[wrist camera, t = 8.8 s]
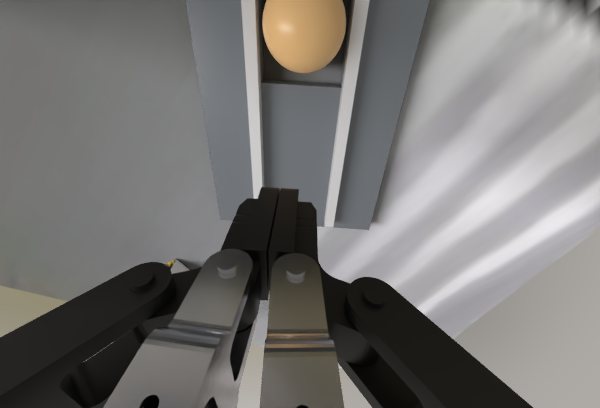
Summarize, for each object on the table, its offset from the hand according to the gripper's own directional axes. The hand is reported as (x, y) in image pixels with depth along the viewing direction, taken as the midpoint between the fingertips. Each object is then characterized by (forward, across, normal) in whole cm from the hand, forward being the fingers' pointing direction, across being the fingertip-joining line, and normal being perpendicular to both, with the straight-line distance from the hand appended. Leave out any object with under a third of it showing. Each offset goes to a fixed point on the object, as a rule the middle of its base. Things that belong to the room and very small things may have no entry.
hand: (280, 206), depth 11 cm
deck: (+17, 0, 0) cm, 17 cm away
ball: (+14, 0, -6) cm, 15 cm away
